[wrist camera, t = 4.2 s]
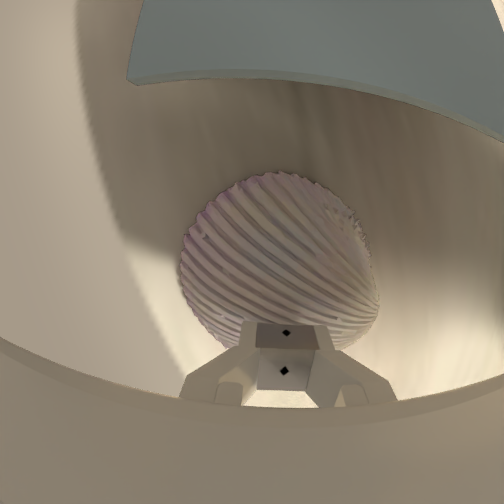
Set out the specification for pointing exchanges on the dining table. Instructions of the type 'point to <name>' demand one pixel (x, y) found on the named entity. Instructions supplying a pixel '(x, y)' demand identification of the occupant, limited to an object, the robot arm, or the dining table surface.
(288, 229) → the seashell
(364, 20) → the trapdoor
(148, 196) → the dining table surface
